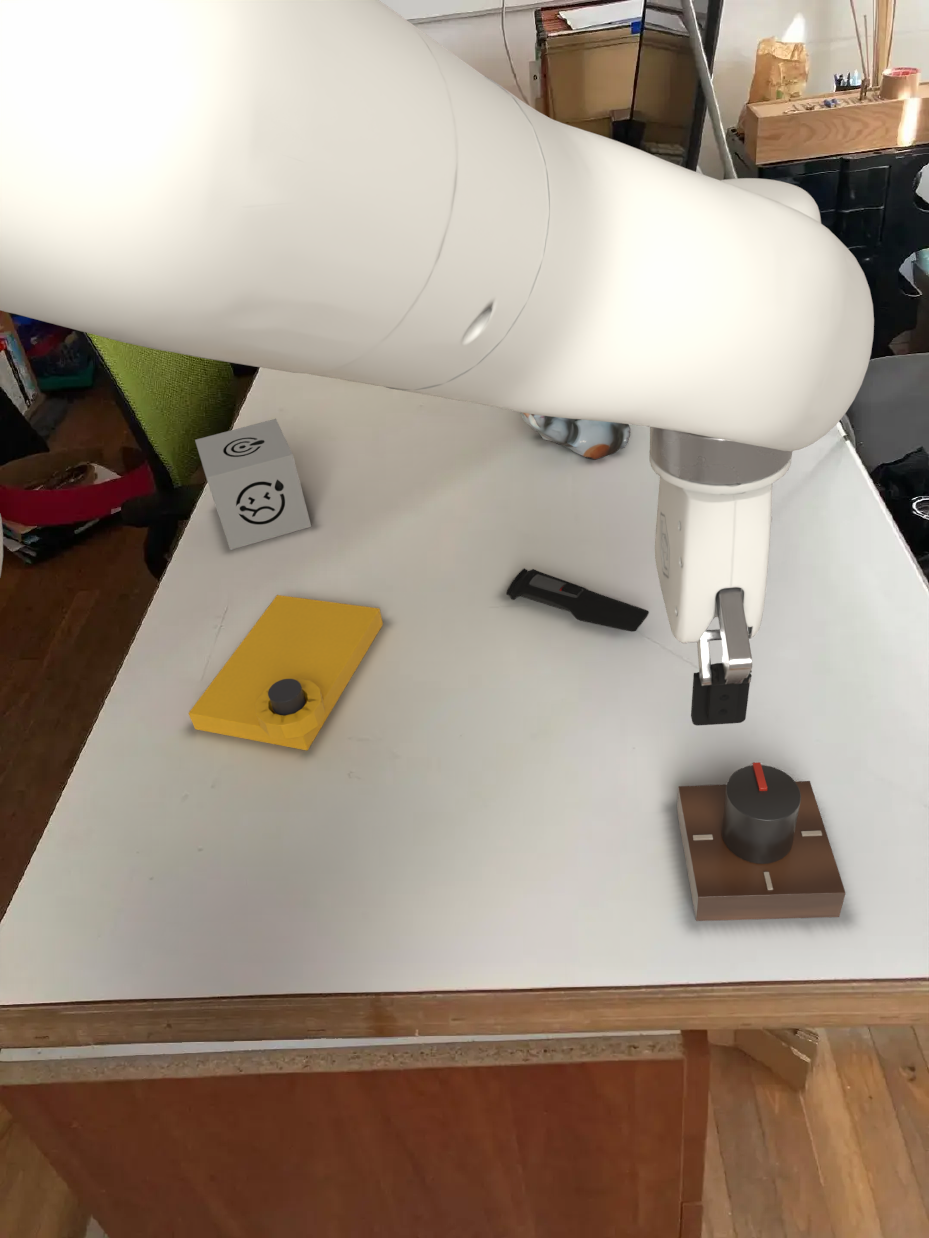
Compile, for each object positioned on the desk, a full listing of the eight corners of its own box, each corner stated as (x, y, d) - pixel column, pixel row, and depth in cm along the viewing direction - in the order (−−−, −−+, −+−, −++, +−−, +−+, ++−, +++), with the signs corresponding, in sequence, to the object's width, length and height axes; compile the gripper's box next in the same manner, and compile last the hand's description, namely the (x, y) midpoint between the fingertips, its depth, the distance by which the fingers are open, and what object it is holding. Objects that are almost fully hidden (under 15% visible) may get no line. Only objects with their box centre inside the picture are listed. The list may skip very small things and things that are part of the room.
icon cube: (294, 488, 120) (275, 418, 114) (311, 526, 113) (292, 454, 106) (217, 509, 118) (194, 439, 112) (230, 550, 111) (206, 477, 104)
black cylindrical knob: (296, 718, 82) (291, 704, 81) (266, 713, 83) (261, 699, 82) (311, 695, 84) (306, 681, 83) (282, 690, 85) (277, 676, 84)
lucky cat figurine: (627, 465, 115) (574, 387, 106) (544, 488, 122) (487, 417, 113) (640, 380, 123) (591, 301, 114) (562, 406, 130) (510, 334, 121)
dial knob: (800, 863, 66) (809, 816, 63) (728, 865, 67) (733, 818, 63) (784, 807, 70) (792, 760, 67) (716, 809, 70) (721, 763, 67)
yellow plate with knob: (312, 760, 83) (302, 729, 80) (189, 736, 87) (176, 706, 84) (391, 625, 96) (385, 595, 94) (281, 610, 100) (273, 581, 98)
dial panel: (839, 917, 66) (846, 891, 64) (695, 921, 67) (698, 895, 65) (805, 805, 73) (810, 779, 71) (676, 810, 74) (678, 784, 72)
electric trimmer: (637, 648, 90) (637, 623, 88) (504, 599, 98) (502, 575, 96) (655, 625, 92) (656, 601, 90) (523, 580, 100) (521, 556, 98)
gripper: (631, 371, 57) (630, 590, 68) (674, 531, 44) (664, 771, 54) (756, 359, 56) (735, 582, 67) (839, 518, 43) (795, 764, 54)
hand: (703, 666), depth 61 cm, fingers open, 9 cm apart
